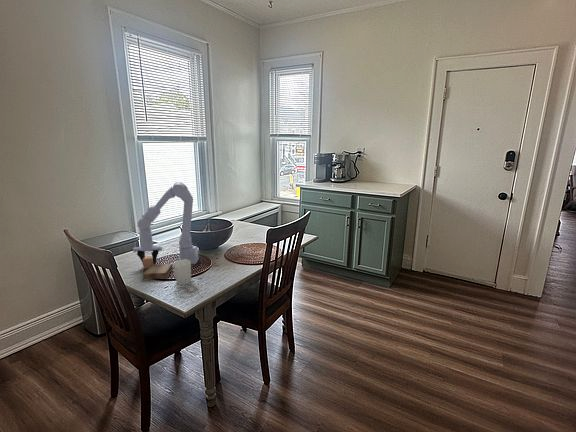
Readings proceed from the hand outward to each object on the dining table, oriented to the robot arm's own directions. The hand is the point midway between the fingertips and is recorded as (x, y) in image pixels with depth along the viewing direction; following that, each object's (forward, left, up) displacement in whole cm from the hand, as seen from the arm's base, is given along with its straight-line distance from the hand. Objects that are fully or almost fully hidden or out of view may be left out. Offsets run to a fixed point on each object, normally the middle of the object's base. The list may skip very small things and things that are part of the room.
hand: (149, 263), depth 171 cm
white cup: (-23, +21, -2) cm, 31 cm away
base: (-8, +11, -1) cm, 14 cm away
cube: (0, 0, -1) cm, 1 cm away
